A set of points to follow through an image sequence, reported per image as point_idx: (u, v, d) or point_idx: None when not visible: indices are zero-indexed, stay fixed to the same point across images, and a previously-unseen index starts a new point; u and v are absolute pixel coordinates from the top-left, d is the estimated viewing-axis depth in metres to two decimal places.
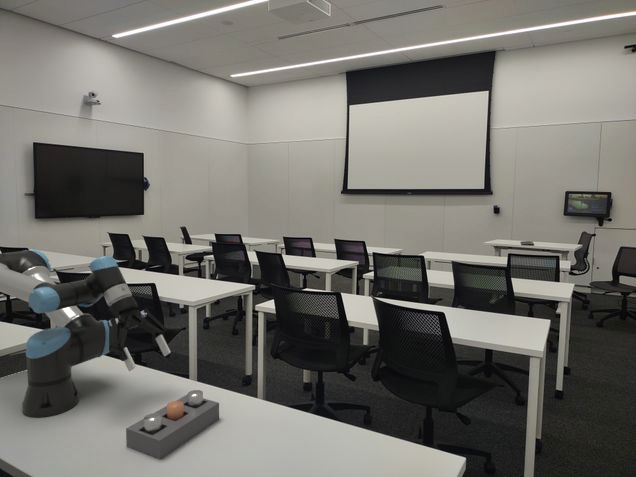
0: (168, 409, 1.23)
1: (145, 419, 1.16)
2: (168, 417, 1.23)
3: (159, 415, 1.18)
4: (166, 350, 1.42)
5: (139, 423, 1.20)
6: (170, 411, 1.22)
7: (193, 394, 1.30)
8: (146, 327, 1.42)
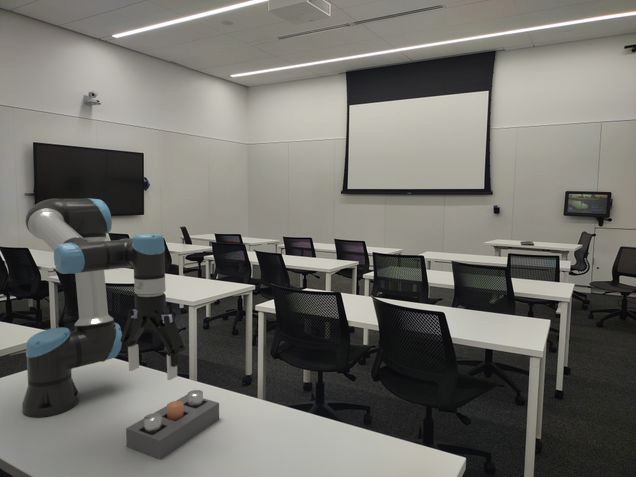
0: (168, 409, 1.23)
1: (145, 419, 1.16)
2: (168, 417, 1.23)
3: (159, 415, 1.18)
4: None
5: (139, 423, 1.20)
6: (170, 411, 1.22)
7: (193, 394, 1.30)
8: None
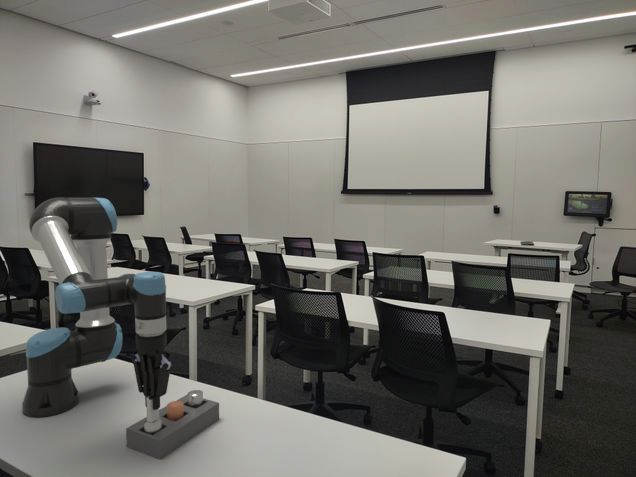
0: (168, 409, 1.23)
1: (145, 422, 1.16)
2: (168, 417, 1.23)
3: (159, 418, 1.18)
4: None
5: (139, 423, 1.20)
6: (170, 411, 1.22)
7: (193, 394, 1.30)
8: None
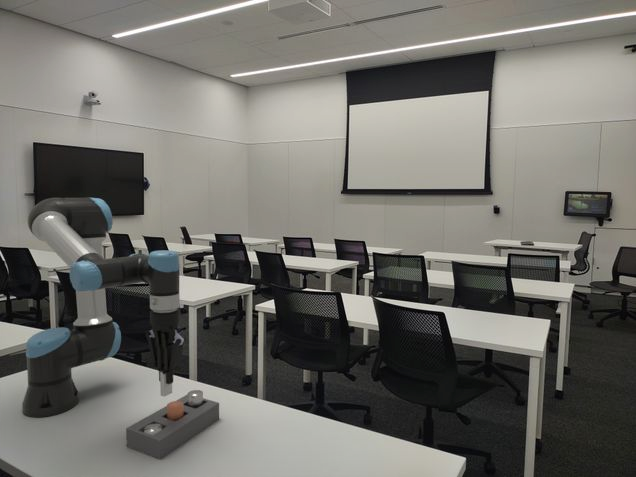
0: (168, 409, 1.23)
1: (145, 430, 1.16)
2: (168, 417, 1.23)
3: (159, 426, 1.18)
4: None
5: (139, 423, 1.20)
6: (170, 411, 1.22)
7: (193, 394, 1.30)
8: None
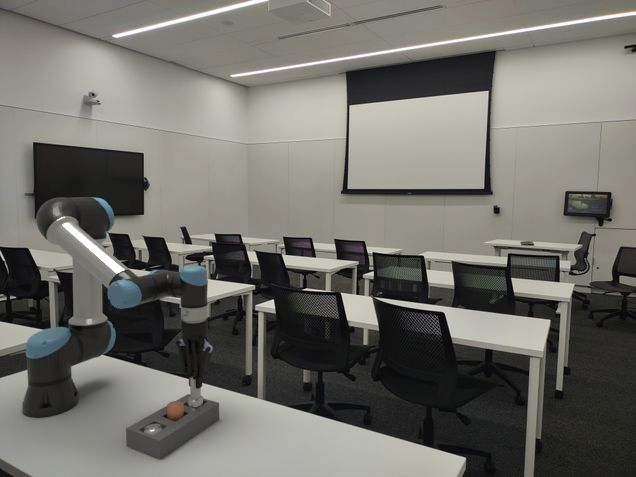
0: (168, 409, 1.23)
1: (145, 430, 1.16)
2: (168, 417, 1.23)
3: (159, 426, 1.18)
4: None
5: (139, 423, 1.20)
6: (170, 411, 1.22)
7: None
8: None
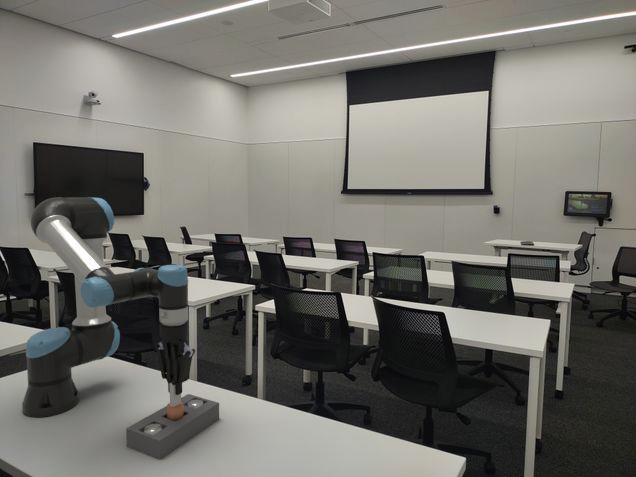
0: (168, 410, 1.23)
1: (145, 430, 1.16)
2: (168, 418, 1.23)
3: (159, 426, 1.18)
4: None
5: (139, 423, 1.20)
6: (170, 412, 1.22)
7: (193, 404, 1.31)
8: None
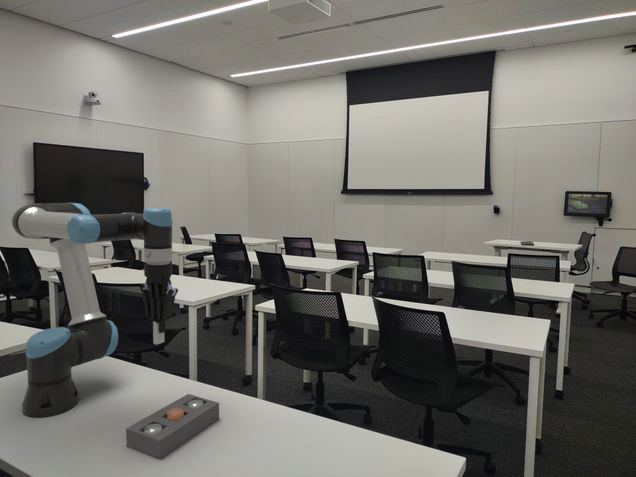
0: (168, 416, 1.23)
1: (145, 430, 1.16)
2: None
3: (159, 426, 1.18)
4: None
5: (139, 423, 1.20)
6: (170, 419, 1.22)
7: (193, 404, 1.31)
8: None
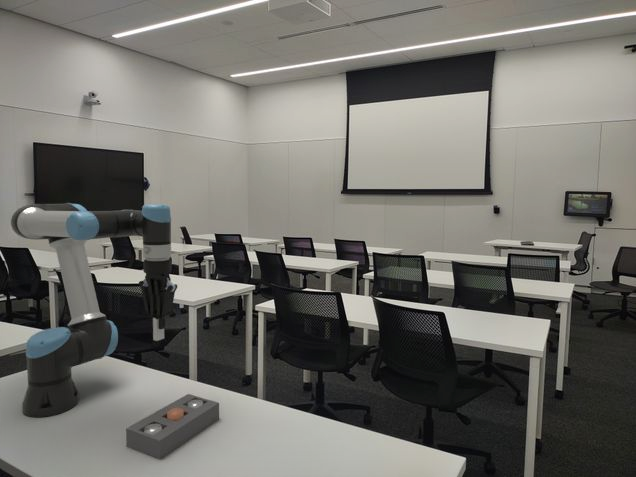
0: (168, 416, 1.23)
1: (145, 430, 1.16)
2: None
3: (159, 426, 1.18)
4: None
5: (139, 423, 1.20)
6: (170, 419, 1.22)
7: (193, 404, 1.31)
8: None
